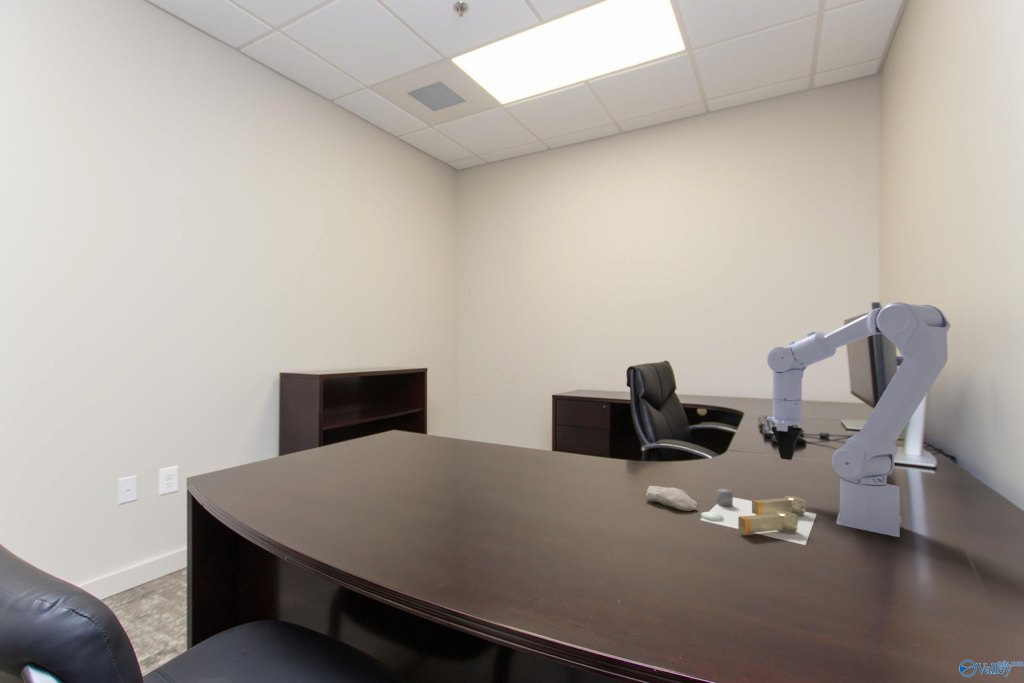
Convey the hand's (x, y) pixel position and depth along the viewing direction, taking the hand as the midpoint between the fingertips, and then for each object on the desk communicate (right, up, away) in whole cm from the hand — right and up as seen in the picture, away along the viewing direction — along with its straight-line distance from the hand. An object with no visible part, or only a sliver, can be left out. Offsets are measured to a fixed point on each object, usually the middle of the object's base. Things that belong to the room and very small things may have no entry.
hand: (786, 458), depth 105 cm
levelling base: (-13, -9, -13) cm, 20 cm away
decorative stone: (-28, -9, -4) cm, 30 cm away
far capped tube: (-9, -8, -12) cm, 17 cm away
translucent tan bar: (-16, -7, -21) cm, 28 cm away
